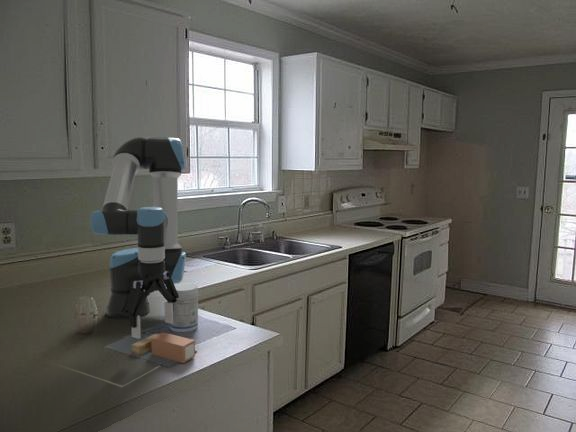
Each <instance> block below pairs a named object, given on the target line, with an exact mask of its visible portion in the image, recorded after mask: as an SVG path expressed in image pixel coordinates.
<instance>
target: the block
mask: <svg viewBox="0 0 576 432" xmlns="http://www.w3.org/2000/svg"><path fill="white" fill-rule="evenodd" d="M158 334H159V335H156V336H154V337H152V338H151V345H152V354H153V355H157V356H160V357H164V358H167V359H171V360H174V361H178V362H179V363H182V364H185V363H186V362H188V361H190V360H192V359H193V358H195V357H196V353H195V350H196V347H195V346H196V344H195V343H196V341H195V339H192V338H187V337H183V336H179V335H175V334H172V333H167V332H161V333H158Z"/></svg>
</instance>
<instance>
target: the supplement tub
mask: <svg viewBox="0 0 576 432" xmlns="http://www.w3.org/2000/svg"><path fill="white" fill-rule="evenodd" d="M174 286H175V288H176V290H177V293H178V295H179V297H178V298H176V299H177V301H176V302H174V311H173V323H172V324H170V323H169V329H170V331H172V332H175V333H188V332H192V331H195V330H196V329H198V327H199V289H198V285H197V284H195V283H192V282H180V283H176V284H174Z"/></svg>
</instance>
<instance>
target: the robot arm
mask: <svg viewBox="0 0 576 432" xmlns="http://www.w3.org/2000/svg"><path fill="white" fill-rule="evenodd" d="M111 167H112V172H111V175H110V179H109V182H108V187H107V190H106V193H105V194H106V195H105V197H104V202H103V205H102V207H101V208H102V209H98V210H97V209H96V210H94V211H92V213H91V215H90V216H91V217H90V227H91V231H92V233H93V234H94V235H99V236H100V235H101V236H103V235H104V236H119V235H120V236H124V235H125V236H126V235H130V236H131V235H132V236H133V235H137V247H134V248H126V249H122V250H119V251H115V252H114V253H112V254H111V255H110V257H109V272H110V273H109V276H110V296H109V300H108V304H107V306H106V316H107V317H108V318H112V319H121V320H123V319H129V327H130V328H131V335H132V337H134V338H138V339H139V338H141V336H142V333H141V330H142V329H141V317H143V316H145V315H147V314H148V313H150V310H151V309H150V305H151V304H150V302H149V301H148V296H150V294H151V293H154V292H157V291H158V292H159V293H160V294H161V295H162V297H163V298H164V299H165V300H166V301H164V323H166V324H169V325H170V324H172V323H173V311H174V302H176V301H177V299H176V298H178V297H179V295H178V293H177V290H176V288H175V286H174V284H177V283H182V281H183V278H184V273H185V266H186V257H187V253H186V252H185V251H183V248H182V246H181V245H180V244H179V242H178V241H179V238H178V235H179V234H178V233H179V232H178V231H179V230H178V225H179V224H178V215H179V214H178V212H179V211H178V178H179V177H180V176H182V171H184V170H185V169H186V161H185V154H184V147H183V142H182V140H181V139H180V138H178V137H168V136H167V137H148V136H146V137H143V136H138V137H134V138H131V139H129V140H128V141H126V142H124V143H123V144H122V145H120V146H119V147H118V149H116V151H115V153H114V154H113V156H112V159H111ZM139 170H149V171H148V173H149V175H150V177H152V179H153V206H143V207H140V208H138V209H135V210H134V209H133V210H132V209H129V206H130V202H131V196H132V192H133V188H134V184H135V183H134V181H135V178H136V175H137V174H138V172H140V171H139Z"/></svg>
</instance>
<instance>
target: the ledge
mask: <svg viewBox="0 0 576 432" xmlns="http://www.w3.org/2000/svg"><path fill="white" fill-rule="evenodd" d="M159 334H160V333H154V334H151V335H150V336H147V338H145V339H143V340H141V341H138V342H136V343H134V344H132V345H131V353H132V354H136V355H141V354H143V353H145V352H147V351H149V350H151V349H152V345H151V338H152V337H154V336H156V335H159Z"/></svg>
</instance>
